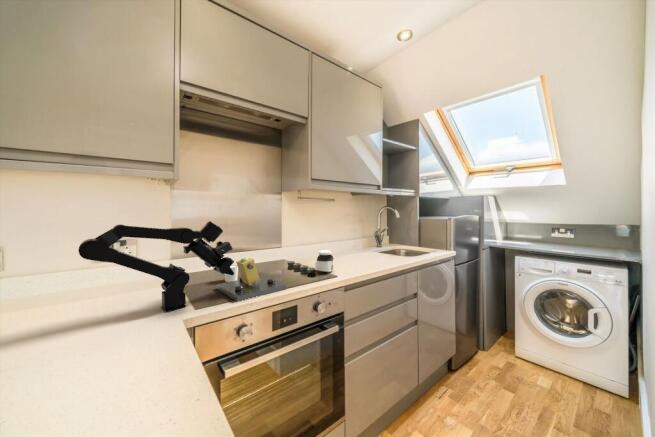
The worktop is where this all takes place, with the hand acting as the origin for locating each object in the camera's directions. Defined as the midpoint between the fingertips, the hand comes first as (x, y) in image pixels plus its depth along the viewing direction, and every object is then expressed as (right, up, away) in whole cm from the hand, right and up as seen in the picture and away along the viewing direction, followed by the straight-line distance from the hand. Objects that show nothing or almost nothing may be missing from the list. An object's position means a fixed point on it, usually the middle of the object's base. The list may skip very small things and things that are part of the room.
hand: (233, 274), depth 106 cm
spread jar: (+37, -6, +35) cm, 52 cm away
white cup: (-8, -8, +20) cm, 23 cm away
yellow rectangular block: (+6, -4, +5) cm, 9 cm away
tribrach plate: (+6, -8, +6) cm, 11 cm away
